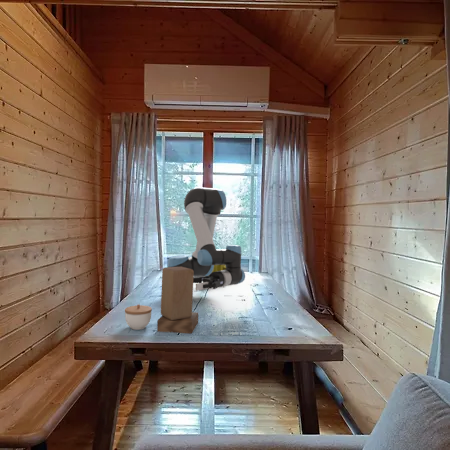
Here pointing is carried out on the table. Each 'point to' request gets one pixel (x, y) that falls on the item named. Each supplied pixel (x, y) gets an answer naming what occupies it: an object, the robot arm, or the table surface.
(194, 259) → the robot arm
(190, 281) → the wooden block
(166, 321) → the base brick
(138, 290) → the table surface
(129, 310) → the lidded jar
